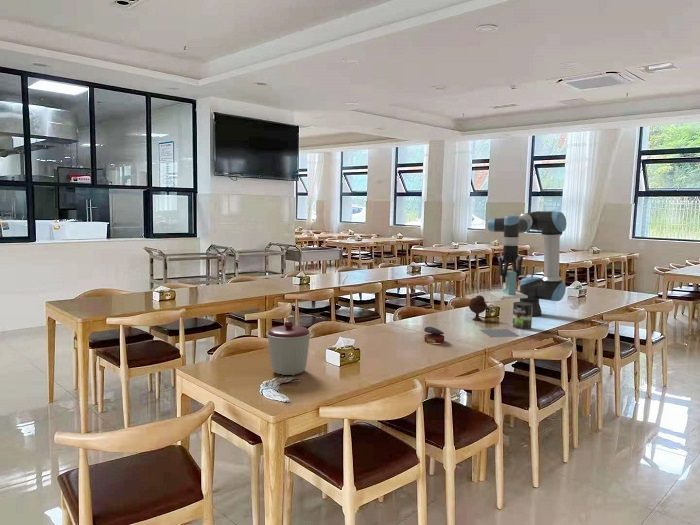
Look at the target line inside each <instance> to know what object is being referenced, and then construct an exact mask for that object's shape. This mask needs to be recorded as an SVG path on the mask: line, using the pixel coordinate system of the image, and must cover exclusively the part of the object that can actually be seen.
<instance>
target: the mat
mask: <svg viewBox="0 0 700 525" xmlns="http://www.w3.org/2000/svg"><path fill="white" fill-rule="evenodd" d="M479 331H480V332H482V333H483V334H485V335H487V336H488V337H489V338H510V337H511V338H512V337H513V338H514V337H518V338H519V337H520V335H519V334H517V333H515V332H513V331H512V330H510V329H508V328H499V329H497V328H494V329H492V328H491V329H479Z"/></svg>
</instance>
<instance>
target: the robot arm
mask: <svg viewBox="0 0 700 525" xmlns="http://www.w3.org/2000/svg"><path fill="white" fill-rule="evenodd" d="M566 218H567V217H566V216H565V213H564V212H561V211H555V210H554V211H553V210H552V211H551V210H548V211H547V210H546V211H545V210H544V211H543V210H542V211H540V210H539V211H530V212H526V213H521V214H520V215H505V216H504V217H500V218H496V217H494V218H493V217H492V218H490V219H488V221H487V229H488V231H489V232H494V233H503V246H502V248H503V251H502V252H503V253H502V256H498V257H497V261H498V275H499V276H501V277H502V278H501V280H502V281H501V282H502V283H504V289H507V277H506V274H507V271H508V268H509V265H510V264H511V267H512V271H514V272H516V283H518V278H519V276H521V275H522V265H523V260H524V257H523V256H520V255H519V246H518V245H519V234H523V233H527V232H528V231H529V230H532V231H539V232H541V236H543V244H544V245H543V257H544V258H543V276H542V277H541V278H540V277H535V276H534V277H524V278H522V279H520V284H519V293H522V294H525V295H527V296H528V298H519V301H518V302H528V303H532V304H533V308H532V317H539V316H540V317H541V316H542V314H543V313H542V308H541V304H540V300H544V301H551V302H559V301H561V300H563V298H564V296H565V293H566V290H567V289H566V288H567V287H566V283H565V282H564V281H563V278H562V277H561V276H560V243H561V242H560V241H561V240H560V237H561V236H562V235H563V232H565V231H566V230H567V219H566ZM503 260H504V261H503ZM503 262H504V263H503Z"/></svg>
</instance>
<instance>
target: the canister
mask: <svg viewBox="0 0 700 525" xmlns="http://www.w3.org/2000/svg"><path fill="white" fill-rule="evenodd" d="M311 334H312V331H311V330H310V329H309V328H307V327H304V326H301V325H295V324H294V322H293V321H291V320H286V321H285V322H284V324H283V325H279V326H274V327H272V328H270V329H269V330H267V331H266V332H265V336H267V340H268V350H269V359H270V363H271V369H272V371H273V372H274V374H276V373H277V374H276V375H279V374H282V375H281V376H283V375H292V376H294V375H293V374H298V375H300V374H302V373H303V372H305V370H306V368H307V361H308V356H309V355H308V354H309V346H310V336H311ZM301 372H302V373H301ZM299 373H300V374H299Z"/></svg>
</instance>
